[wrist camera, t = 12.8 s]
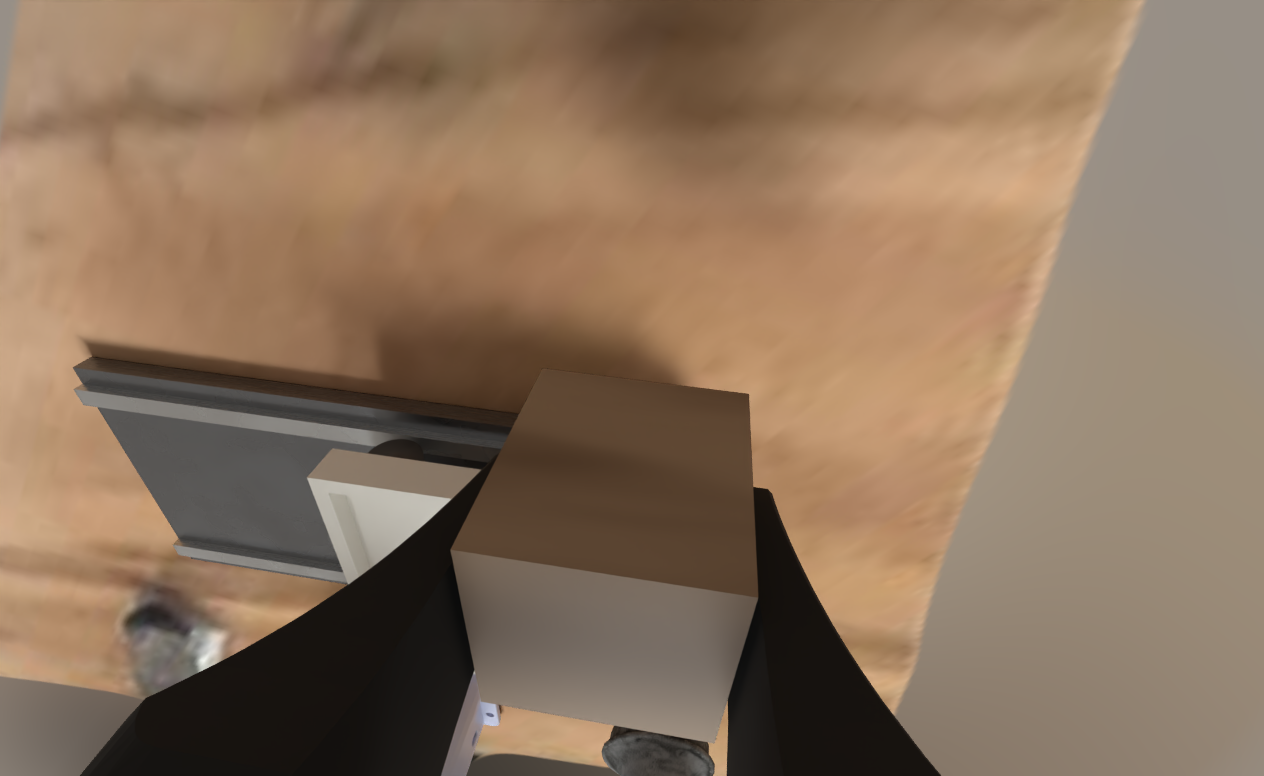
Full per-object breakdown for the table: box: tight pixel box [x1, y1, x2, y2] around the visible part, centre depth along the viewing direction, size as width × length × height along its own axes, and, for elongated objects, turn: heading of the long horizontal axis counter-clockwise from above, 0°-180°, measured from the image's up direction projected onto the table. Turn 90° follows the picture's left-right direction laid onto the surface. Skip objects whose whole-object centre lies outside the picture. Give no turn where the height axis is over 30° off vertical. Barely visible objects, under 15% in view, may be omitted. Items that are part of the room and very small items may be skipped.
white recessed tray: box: [307, 439, 481, 674], centre depth 23 cm, size 11×11×3 cm
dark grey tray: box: [73, 357, 519, 584], centre depth 25 cm, size 12×24×2 cm, turn 87°
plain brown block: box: [451, 368, 758, 743], centre depth 11 cm, size 4×4×5 cm
